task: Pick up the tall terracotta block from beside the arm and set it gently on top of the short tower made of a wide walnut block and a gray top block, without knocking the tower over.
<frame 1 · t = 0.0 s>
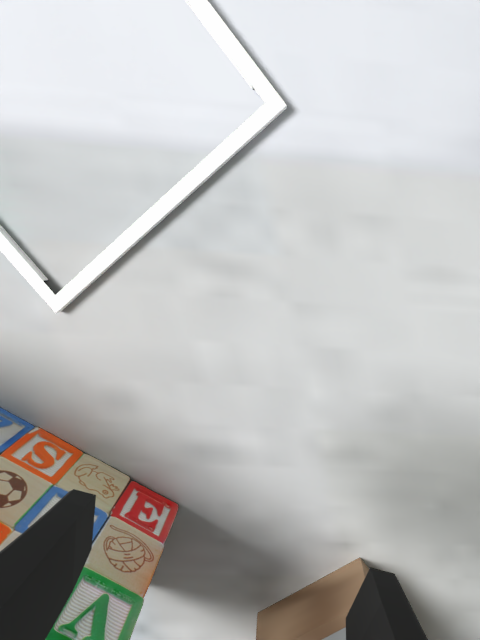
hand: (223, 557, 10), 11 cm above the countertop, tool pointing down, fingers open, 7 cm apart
photo frame: (43, 66, 19), on the countertop
walnut base block: (342, 623, 24), on the countertop, touching gray top block
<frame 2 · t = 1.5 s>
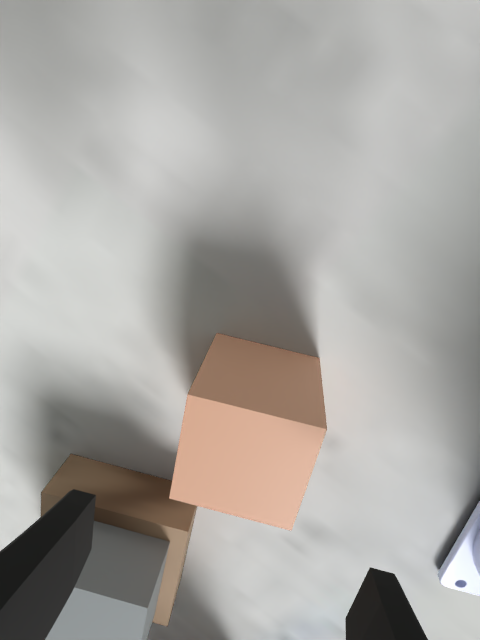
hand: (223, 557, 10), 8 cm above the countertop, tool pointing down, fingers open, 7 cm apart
terracotta block: (256, 388, 18), on the countertop
gray top block: (107, 565, 20), point 3 cm above the countertop, touching walnut base block
walnut base block: (131, 514, 23), on the countertop, touching gray top block
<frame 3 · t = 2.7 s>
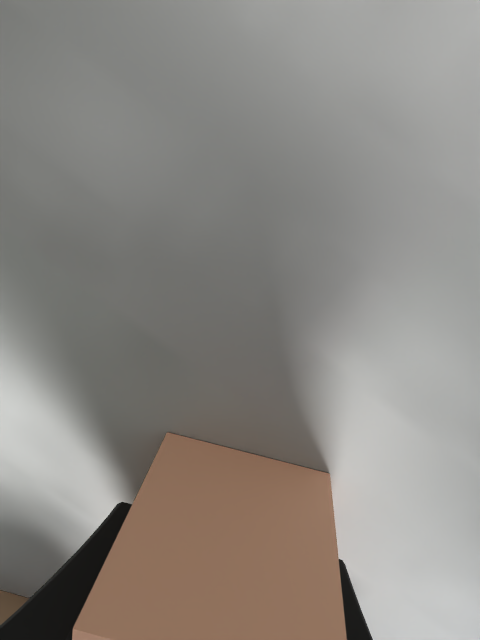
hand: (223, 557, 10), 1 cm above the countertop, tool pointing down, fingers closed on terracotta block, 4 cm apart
terracotta block: (231, 512, 12), on the countertop, touching gripper
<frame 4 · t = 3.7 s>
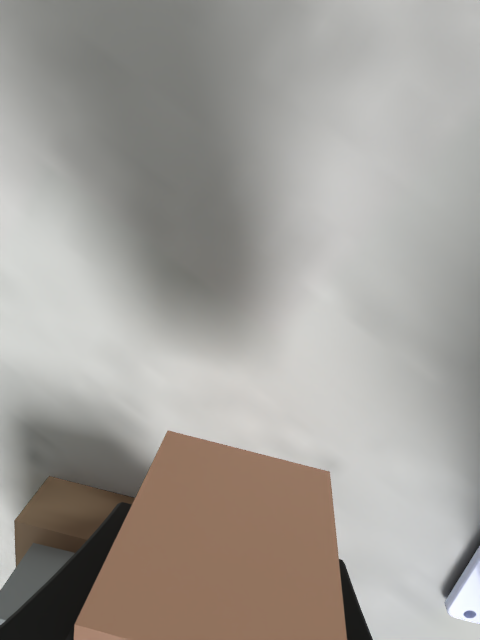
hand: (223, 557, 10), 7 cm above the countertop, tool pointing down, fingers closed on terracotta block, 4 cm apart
terracotta block: (232, 510, 12), point 5 cm above the countertop, touching gripper
gray top block: (93, 598, 18), point 3 cm above the countertop, touching walnut base block
walnut base block: (116, 537, 21), on the countertop, touching gray top block
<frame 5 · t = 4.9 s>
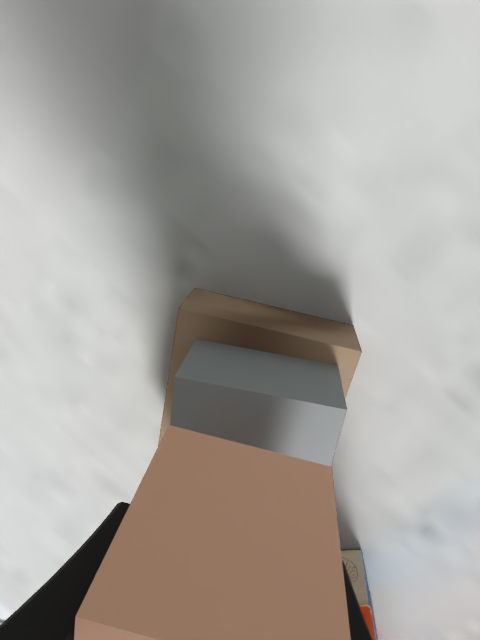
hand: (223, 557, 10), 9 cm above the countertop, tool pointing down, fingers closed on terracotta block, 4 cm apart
terracotta block: (233, 506, 12), point 8 cm above the countertop, touching gripper
gray top block: (255, 411, 17), point 2 cm above the countertop, touching walnut base block
walnut base block: (257, 370, 19), on the countertop, touching gray top block
when the fingers open (8 cm above the countertop, at t = 5.5 s): terracotta block drops 1 cm, resting on gray top block.
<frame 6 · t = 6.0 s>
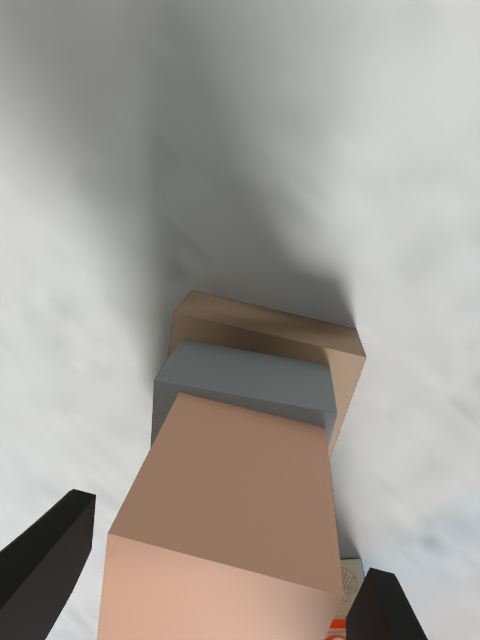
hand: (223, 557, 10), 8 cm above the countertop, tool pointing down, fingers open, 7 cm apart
terracotta block: (237, 467, 13), point 6 cm above the countertop, touching gray top block
gray top block: (244, 414, 16), point 3 cm above the countertop, touching terracotta block, walnut base block
walnut base block: (256, 376, 19), on the countertop, touching gray top block
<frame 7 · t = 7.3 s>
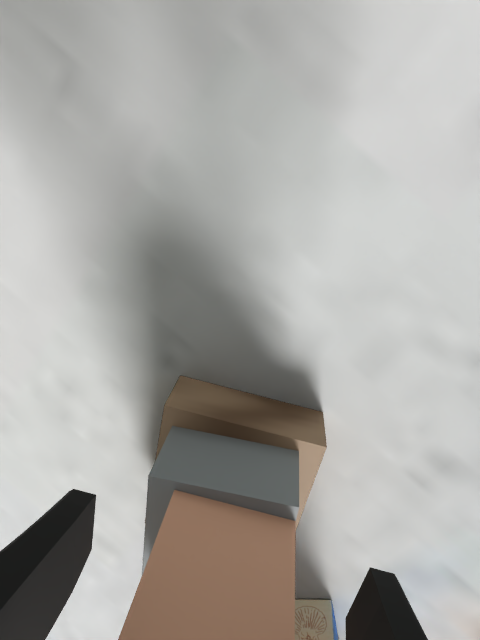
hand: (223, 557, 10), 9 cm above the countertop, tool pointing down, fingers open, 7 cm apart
terracotta block: (223, 547, 15), point 6 cm above the countertop
gray top block: (226, 487, 18), point 3 cm above the countertop, touching walnut base block
walnut base block: (237, 445, 21), on the countertop, touching gray top block
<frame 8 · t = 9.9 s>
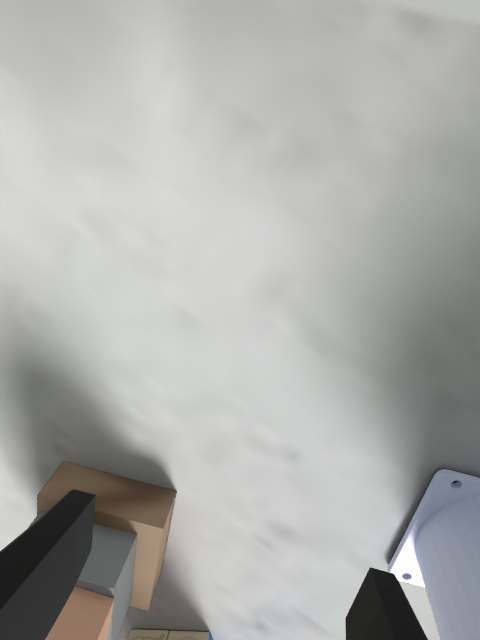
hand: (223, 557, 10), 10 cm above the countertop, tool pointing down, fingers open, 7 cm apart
terracotta block: (66, 612, 20), point 6 cm above the countertop, touching gray top block
gray top block: (87, 557, 23), point 3 cm above the countertop, touching terracotta block
walnut base block: (117, 513, 26), on the countertop
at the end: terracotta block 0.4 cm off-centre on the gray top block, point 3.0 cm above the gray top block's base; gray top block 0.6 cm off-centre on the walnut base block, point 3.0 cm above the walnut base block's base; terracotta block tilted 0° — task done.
